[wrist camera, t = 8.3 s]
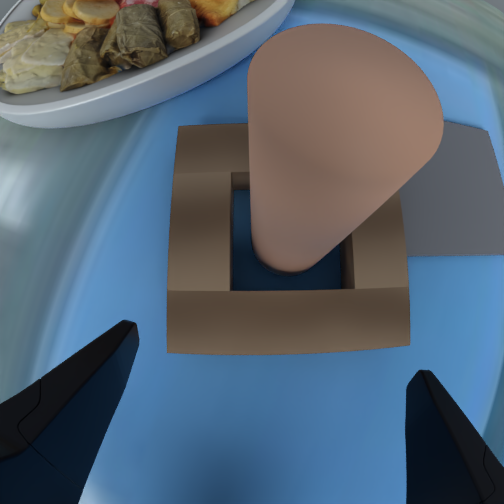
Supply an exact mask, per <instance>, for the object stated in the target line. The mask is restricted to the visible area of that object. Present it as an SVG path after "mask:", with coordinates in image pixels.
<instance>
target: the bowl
mask: <svg viewBox="0 0 504 504" xmlns="http://www.w3.org/2000/svg"><path fill="white" fill-rule="evenodd" d="M294 2H295V0H19V1H18V2H17V3H16V4H15V5H14V6H13V7H12V8H11V9H10V10H9V12H8V13H7V14H6V15H5V17H4V18H3V19H2V21H1V22H0V116H1V117H3V118H5V119H7V120H9V121H11V122H14V123H17V124H20V125H24V126H29V127H36V128H67V127H76V126H83V125H88V124H93V123H99V122H103V121H107V120H111V119H115V118H118V117H122V116H125V115H128V114H131V113H134V112H137V111H140V110H143V109H146V108H149V107H151V106H154V105H156V104H159V103H162V102H164V101H166V100H169V99H171V98H174V97H176V96H178V95H180V94H182V93H185V92H187V91H189V90H191V89H193V88H195V87H197V86H199V85H201V84H203V83H205V82H207V81H209V80H210V79H212V78H214V77H216V76H217V75H219V74H221V73H223V72H224V71H226V70H227V69H229V68H231V67H232V66H234V65H235V64H237V63H238V62H240V61H241V60H243V59H244V58H245V57H247V56H248V55H249V54H251V53H252V52H253V51H255V50H256V49H257V48H258V47H259V46H261V45H262V44H263V43H264V42H265V41H266V40H267V39H268V38H269V37H270V36H271V35H272V34H273V33H274V32H275V31H276V30H277V29H278V28H279V26H280V25H281V24H282V23H283V21H284V20H285V18H286V17H287V15H288V14H289V12H290V10H291V8H292V6H293V4H294Z"/></svg>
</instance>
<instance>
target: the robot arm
mask: <svg viewBox="0 0 504 504" xmlns="http://www.w3.org/2000/svg"><path fill="white" fill-rule="evenodd" d="M138 347H139V335H138V329H137V324H136V323H135V322H132V321H128V320H122V321H121V322H119V323H118V324H116V325H115V326H113V327H112V328H111V329H109V330H108V331H106V332H105V333H103V334H102V335H101V336H99V337H98V338H96V339H95V340H93V341H92V342H91V343H89V344H88V345H86V346H85V347H83V348H82V349H81V350H79V351H78V352H76V353H75V354H74V355H72V356H71V357H69V358H68V359H67V360H65V361H64V362H62V363H61V364H59V365H58V366H57V367H55V368H54V369H52V370H51V371H50V372H48V373H47V374H45V375H44V376H43V377H41V379H38V380H37V381H36V382H34V383H33V384H31V385H30V386H28V387H27V388H26V389H24V390H23V391H21V392H20V393H18V394H16V395H15V396H13V397H11V398H10V399H8V400H6V401H4V402H3V403H1V404H0V504H78V503H79V500H80V497H81V495H82V492H83V489H84V486H85V484H86V481H87V479H88V476H89V473H90V471H91V468H92V466H93V463H94V461H95V458H96V456H97V453H98V451H99V448H100V446H101V444H102V441H103V439H104V436H105V434H106V432H107V429H108V427H109V424H110V422H111V420H112V417H113V415H114V413H115V410H116V408H117V406H118V404H119V401H120V399H121V397H122V395H123V392H124V390H125V387H126V384H127V381H128V378H129V375H130V372H131V369H132V365H133V362H134V359H135V356H136V353H137V350H138ZM405 439H406V470H407V494H406V504H504V467H503V466H502V464H501V463H500V462H499V461H498V459H497V458H496V457H495V455H494V454H493V453H492V451H491V450H490V448H489V447H488V446H487V445H486V443H485V441H484V440H483V439H482V437H481V436H480V434H479V433H478V432H477V430H476V429H475V428H474V426H473V425H472V424H471V422H470V421H469V419H468V418H467V417H466V415H465V414H464V413H463V411H462V410H461V409H460V407H459V406H458V405H457V403H456V402H455V401H454V400H453V398H452V397H451V396H450V394H449V393H448V392H447V390H446V389H445V388H444V387H443V385H442V384H441V383H440V381H439V380H438V379H437V378H436V376H435V375H434V374H433V373H432V372H431V371H430V370H419V371H418V372H417V373H416V374H415V375H414V377H413V378H412V379H411V381H410V382H409V383H408V385H407V389H406V419H405Z"/></svg>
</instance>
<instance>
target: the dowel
mask: <svg viewBox="0 0 504 504" xmlns="http://www.w3.org/2000/svg"><path fill="white" fill-rule="evenodd" d="M247 95H248V131H249V167H250V203H251V239H252V249H253V252H254V254H255V257H256V258H257V260H258V261H259V263H260V264H261V265H262V266H263V267H264V268H265V269H267V270H268V271H270V272H272V273H274V274H277V275H281V276H295V275H299V274H302V273H304V272H306V271H307V270H309V269H310V268H311V267H312V266H314V265H315V264H316V263H317V262H318V261H319V260H321V259H322V258H323V257H324V256H325V255H326V254H327V253H329V252H330V251H331V250H332V249H333V248H334V247H335V246H337V245H338V244H339V243H340V242H341V241H342V240H343V239H345V238H346V237H347V236H348V235H349V234H350V233H351V232H352V231H354V230H355V229H356V228H357V227H358V226H359V225H360V224H361V223H362V222H364V221H365V220H366V219H367V218H368V217H369V216H370V215H371V214H372V213H374V212H375V211H376V210H377V209H378V208H379V207H380V206H381V205H382V204H383V203H384V202H386V201H387V200H388V199H389V198H390V197H391V196H392V195H393V194H394V193H395V192H396V191H397V190H398V189H400V188H401V187H402V186H403V185H404V184H405V183H406V182H407V181H408V180H409V179H410V178H411V177H412V176H413V175H414V174H415V173H416V172H417V171H419V170H420V169H421V168H422V167H423V166H424V165H425V164H426V163H427V162H428V161H429V160H430V159H431V158H432V156H433V155H434V154H435V152H436V151H437V149H438V147H439V145H440V142H441V139H442V135H443V127H444V121H443V112H442V107H441V104H440V101H439V98H438V95H437V93H436V91H435V89H434V87H433V85H432V84H431V82H430V81H429V79H428V78H427V76H426V75H425V74H424V72H423V71H422V70H421V69H420V67H419V66H418V65H417V64H416V63H415V62H414V61H413V60H412V59H411V58H409V57H408V56H407V55H406V54H405V53H404V52H402V51H401V50H399V49H398V48H397V47H395V46H394V45H392V44H390V43H389V42H387V41H385V40H384V39H382V38H379V37H377V36H375V35H373V34H371V33H368V32H365V31H363V30H359V29H356V28H353V27H348V26H343V25H336V24H308V25H302V26H297V27H293V28H290V29H287V30H285V31H282V32H280V33H278V34H276V35H275V36H273V37H271V38H270V39H269V40H267V41H266V42H265V43H264V44H263V45H262V46H261V47H260V48H259V49H258V50H257V52H256V53H255V55H254V56H253V58H252V60H251V63H250V65H249V69H248V75H247Z"/></svg>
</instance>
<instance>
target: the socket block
mask: <svg viewBox="0 0 504 504" xmlns="http://www.w3.org/2000/svg"><path fill="white" fill-rule="evenodd" d="M234 190H250V167H249V131H248V123H239V124H208V125H189V126H179V127H178V136H177V145H176V154H175V164H174V175H173V187H172V200H171V214H170V230H169V250H168V277H167V353H180V354H207V355H285V354H312V353H330V352H345V351H358V350H370V349H381V348H390V347H399V346H408V345H410V300H409V280H408V265H407V253H406V242H405V233H404V224H403V216H402V208H401V201H400V194H399V189H398V190H397V191H396V192H395V193H394V194H393V195H392V196H391V197H390V198H389V199H388V200H387V201H386V202H384V203H383V204H382V205H381V206H380V207H379V208H378V209H377V210H376V211H375V212H374V213H372V214H371V215H370V216H369V217H368V218H367V219H366V220H365V221H364V222H362V223H361V224H360V225H359V226H358V227H357V228H356V229H355V230H354V231H352V232H351V233H350V234H349V235H348V236H347V237H346V238H345V239H343V240H342V241H341V242H340V243H339V246H340V264H341V288H342V289H336V290H291V291H233V209H234Z"/></svg>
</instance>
